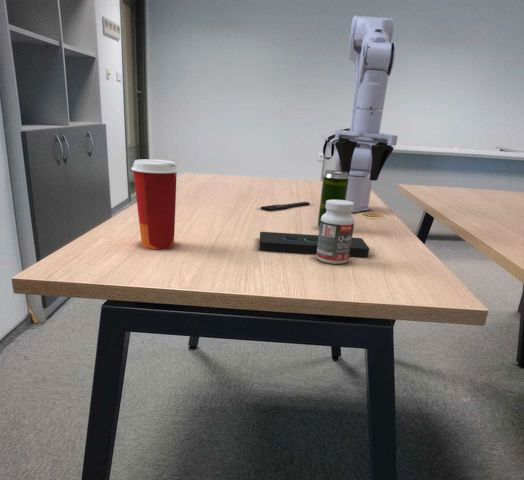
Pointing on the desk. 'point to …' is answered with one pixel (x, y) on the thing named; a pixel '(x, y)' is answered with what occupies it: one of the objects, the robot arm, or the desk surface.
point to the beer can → (332, 189)
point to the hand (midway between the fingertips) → (358, 177)
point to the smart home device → (304, 243)
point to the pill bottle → (335, 232)
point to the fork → (284, 206)
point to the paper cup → (156, 201)
